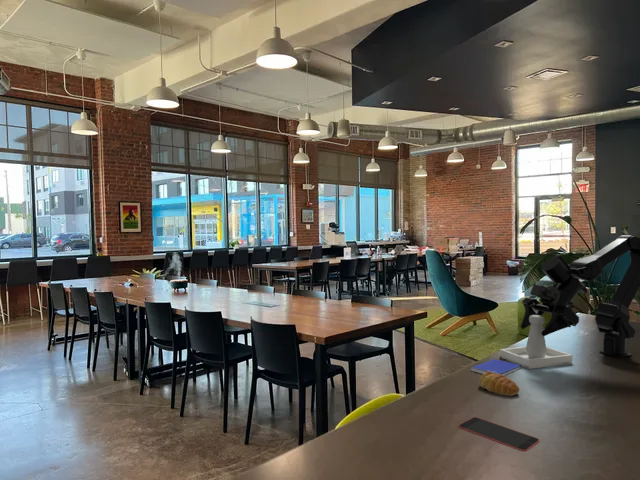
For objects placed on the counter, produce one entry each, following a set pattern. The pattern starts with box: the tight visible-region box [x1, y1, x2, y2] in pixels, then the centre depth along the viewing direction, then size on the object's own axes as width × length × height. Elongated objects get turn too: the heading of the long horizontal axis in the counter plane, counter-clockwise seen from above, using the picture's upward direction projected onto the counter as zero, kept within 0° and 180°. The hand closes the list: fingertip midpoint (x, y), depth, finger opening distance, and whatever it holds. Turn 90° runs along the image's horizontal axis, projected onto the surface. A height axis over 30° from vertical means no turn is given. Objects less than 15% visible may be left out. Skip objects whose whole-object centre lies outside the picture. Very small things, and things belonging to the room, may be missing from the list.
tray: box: [499, 346, 573, 370], centre depth 139 cm, size 16×12×2 cm
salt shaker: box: [525, 315, 547, 359], centre depth 139 cm, size 6×6×13 cm
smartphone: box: [457, 417, 540, 452], centre depth 91 cm, size 7×1×14 cm
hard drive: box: [470, 358, 521, 376], centre depth 130 cm, size 2×8×12 cm
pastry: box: [478, 371, 520, 397], centre depth 114 cm, size 9×7×4 cm
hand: (531, 331), depth 138 cm, fingers open, 9 cm apart
